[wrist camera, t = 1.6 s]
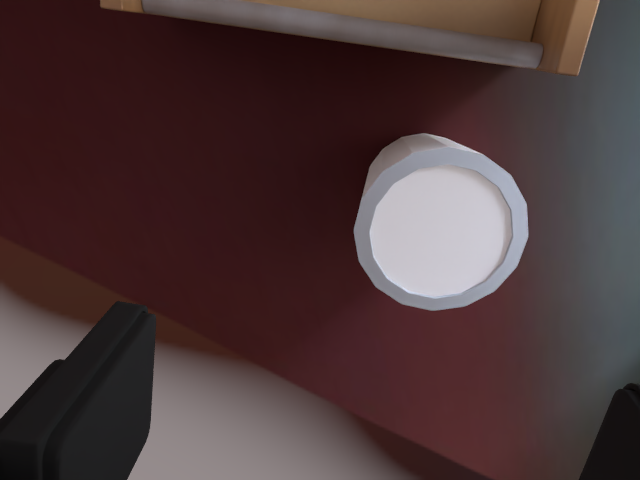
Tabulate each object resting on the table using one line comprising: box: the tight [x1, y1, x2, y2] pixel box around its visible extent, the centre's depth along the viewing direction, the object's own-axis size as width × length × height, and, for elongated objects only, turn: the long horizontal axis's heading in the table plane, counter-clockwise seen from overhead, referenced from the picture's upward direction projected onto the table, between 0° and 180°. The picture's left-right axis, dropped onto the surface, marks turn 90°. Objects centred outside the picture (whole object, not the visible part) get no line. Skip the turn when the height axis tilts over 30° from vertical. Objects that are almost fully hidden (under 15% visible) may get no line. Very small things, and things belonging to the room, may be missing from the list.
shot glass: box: [354, 133, 528, 311], centre depth 25 cm, size 7×7×7 cm
